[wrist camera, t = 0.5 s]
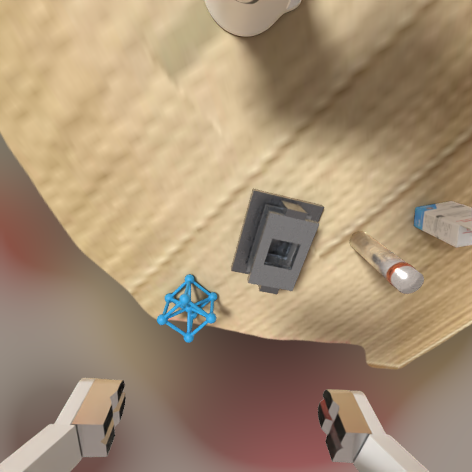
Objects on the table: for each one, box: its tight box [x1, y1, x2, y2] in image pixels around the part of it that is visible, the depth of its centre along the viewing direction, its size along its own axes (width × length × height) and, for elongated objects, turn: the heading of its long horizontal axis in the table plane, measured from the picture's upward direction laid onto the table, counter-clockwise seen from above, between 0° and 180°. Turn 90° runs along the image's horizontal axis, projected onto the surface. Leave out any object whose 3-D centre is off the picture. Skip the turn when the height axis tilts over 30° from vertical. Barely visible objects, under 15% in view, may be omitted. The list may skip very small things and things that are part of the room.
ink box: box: [414, 201, 472, 247], centre depth 51 cm, size 9×5×15 cm, turn 99°
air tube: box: [350, 231, 424, 294], centre depth 51 cm, size 5×5×18 cm
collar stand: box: [231, 189, 324, 294], centre depth 54 cm, size 20×16×8 cm
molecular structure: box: [157, 274, 217, 343], centre depth 59 cm, size 10×10×10 cm
